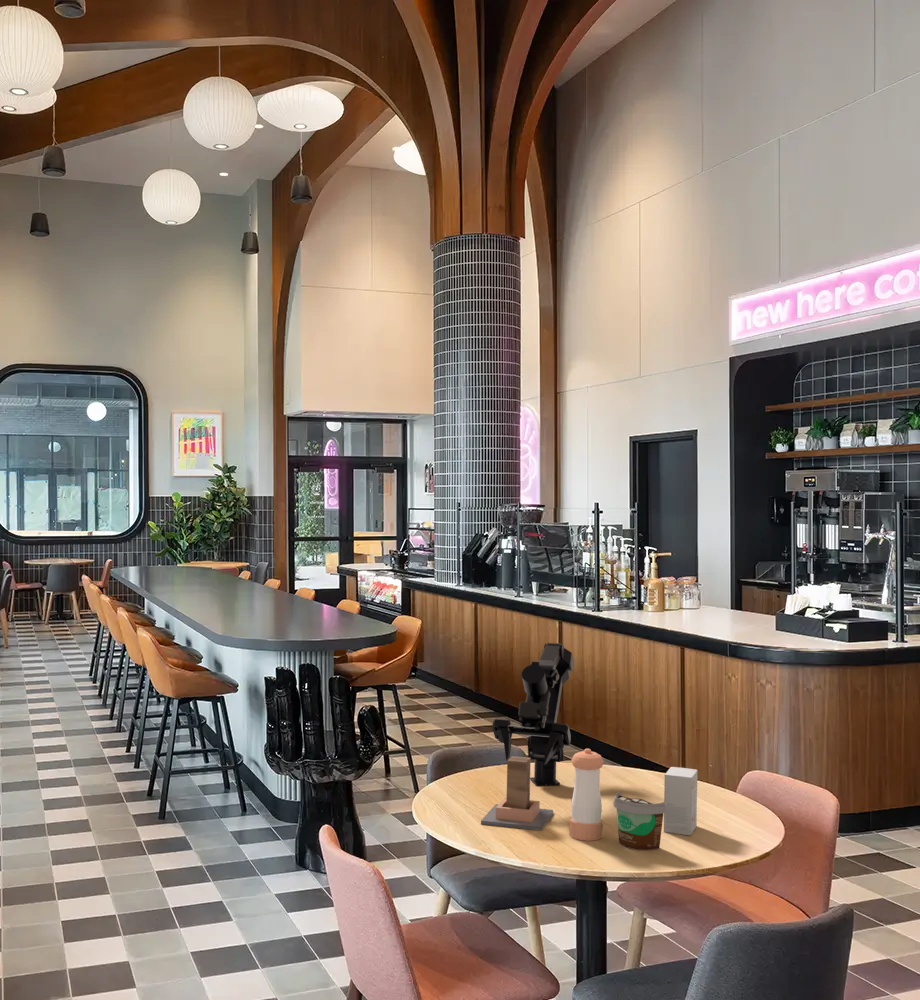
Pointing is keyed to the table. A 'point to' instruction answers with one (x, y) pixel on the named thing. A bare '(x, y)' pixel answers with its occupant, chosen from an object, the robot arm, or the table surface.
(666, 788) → the small box
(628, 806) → the food container
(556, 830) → the table surface
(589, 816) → the salt shaker
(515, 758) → the walnut block
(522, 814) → the jaw socket
